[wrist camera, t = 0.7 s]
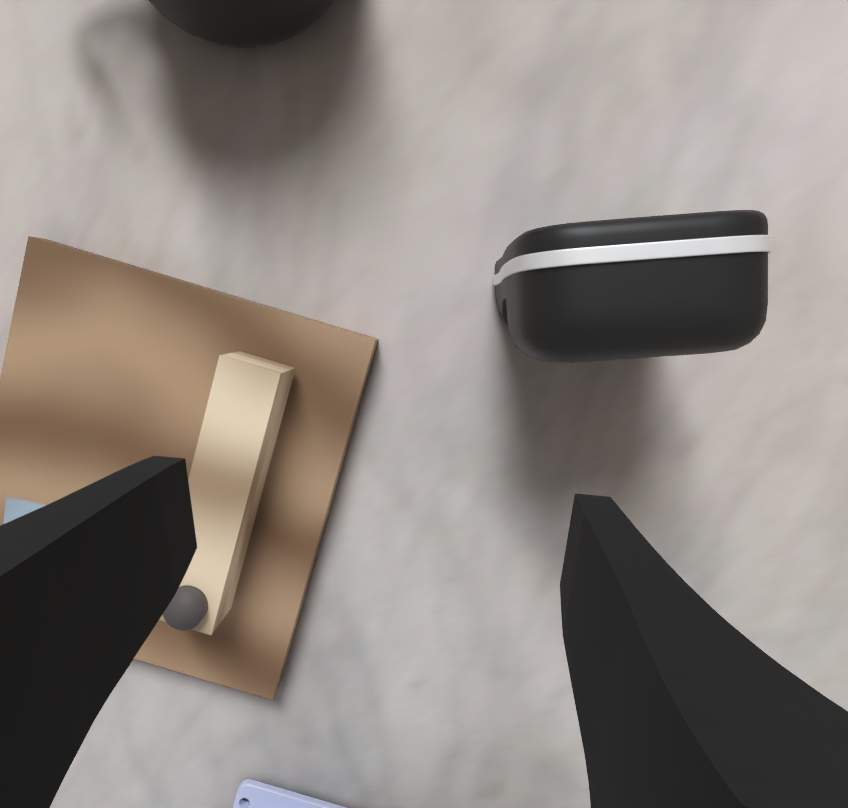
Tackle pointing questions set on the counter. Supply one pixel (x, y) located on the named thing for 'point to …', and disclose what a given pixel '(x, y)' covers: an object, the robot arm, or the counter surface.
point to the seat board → (176, 426)
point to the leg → (228, 483)
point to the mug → (242, 19)
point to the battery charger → (636, 286)
